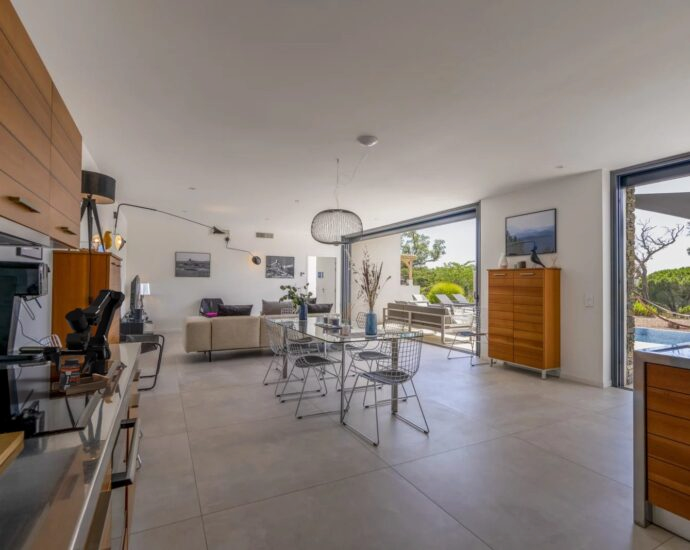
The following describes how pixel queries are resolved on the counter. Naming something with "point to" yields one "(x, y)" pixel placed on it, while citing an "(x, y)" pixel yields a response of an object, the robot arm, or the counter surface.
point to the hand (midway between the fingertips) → (69, 372)
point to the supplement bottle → (69, 374)
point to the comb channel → (86, 384)
